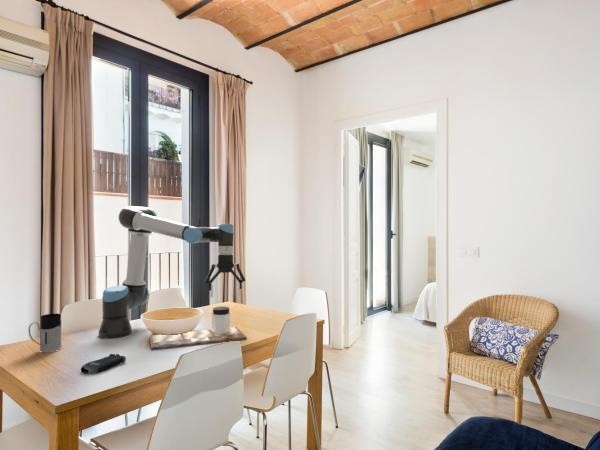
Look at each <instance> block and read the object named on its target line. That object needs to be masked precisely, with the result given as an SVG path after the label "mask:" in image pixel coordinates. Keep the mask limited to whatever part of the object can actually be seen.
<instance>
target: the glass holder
mask: <svg viewBox="0 0 600 450" xmlns="http://www.w3.org/2000/svg"><path fill="white" fill-rule="evenodd" d="M34 324H36V326H37V330H38V331H40V332H39V334H40V335H39V342H37V341H36V340H35V339H34V338H33V336H32V335H31V328H32V325H34ZM28 336H29V337H30V339H31V341H32V342H34V343H35V344H36V345H38V346H39V350H40V351H42V352H50V353H53V352H52V351H55V352H57V351H56V350H59V351H61V350H62V349H63V346H62V314H61V313H47V314H42V315H41V316H40V324H39V323H38V322H37V321H34V322H31V323H30V324H29V326H28ZM61 348H62V349H61ZM60 349H61V350H60Z"/></svg>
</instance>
